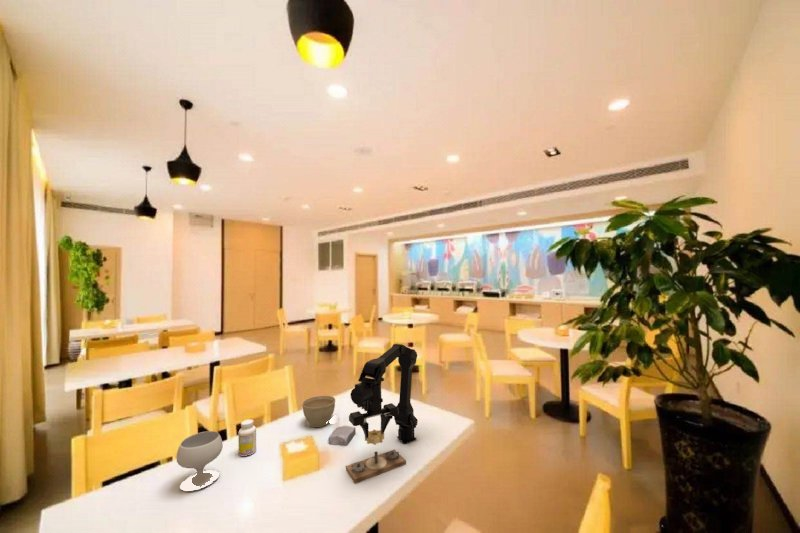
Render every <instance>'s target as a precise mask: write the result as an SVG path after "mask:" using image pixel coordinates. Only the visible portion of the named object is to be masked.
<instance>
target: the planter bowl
mask: <svg viewBox="0 0 800 533" xmlns="http://www.w3.org/2000/svg"><path fill="white" fill-rule="evenodd" d="M335 403H336V398H335V397H333V396H330V395H317V396H312V397H309V398H306V399H305V400H303V401H302V405H301V406H302V411H303V416H304V418H305V419H306V421H307V422H308V425H309V426H310V427H312V428H321V427H325V426H327V425H326V422H327V421H328V420H329V421H330V419H331V418H332V416H333V414H334V412H335V407H336V404H335Z"/></svg>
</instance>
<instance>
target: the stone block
mask: <svg viewBox="0 0 800 533" xmlns="http://www.w3.org/2000/svg"><path fill="white" fill-rule="evenodd" d="M355 435H356V426H350V425H341V426H338V427H336V428H335V429H334V430H332V432H331V434H330V435H329V436H328V439H327V441H328V444H329V445H332V446H341V447H342V446H345V447H347V446H348V445H349V443H350V442H351V441H352V439H353V437H354V436H355Z"/></svg>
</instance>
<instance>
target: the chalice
mask: <svg viewBox="0 0 800 533" xmlns="http://www.w3.org/2000/svg"><path fill="white" fill-rule="evenodd" d="M223 446H224V445H223V440H222V436H221V435H220V433H219V432H218V431H214V430H209V431H208V430H207V431H201V432H197V433H195V434H192V435H189V436H187V437H185V438H184V439H183V440H182V441H181V442H180V444H179V446H178V449H177V452H176V463H177V464H178V466H180V467H181V468H183V469H195V471H196V473H197V475H196V476H195V477H193V478H192V483H193V484H194V485H196V486H200V487H201V486H202V485H205V483H206V482H208V481H210V478H211V477H213V476H212V474H210V473H203V470H205V467H206V466H207V465H209V464H210V463H212V462H214V461H215V460H216V459H217V458H218V457H219V456H220V454H221V453H222V450H223Z"/></svg>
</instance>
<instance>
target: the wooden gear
mask: <svg viewBox="0 0 800 533" xmlns="http://www.w3.org/2000/svg"><path fill="white" fill-rule="evenodd" d="M383 440H385V432H384V433H382V432H381V429H380V430H378V429H377V430H376V429H373V430H368V438H367V439H366V437H365V436H364V441H365V442H366V444H367V445H369V444H371V445H375V446H376V445H377V444H379V443H380V444H382V443H383Z"/></svg>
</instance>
